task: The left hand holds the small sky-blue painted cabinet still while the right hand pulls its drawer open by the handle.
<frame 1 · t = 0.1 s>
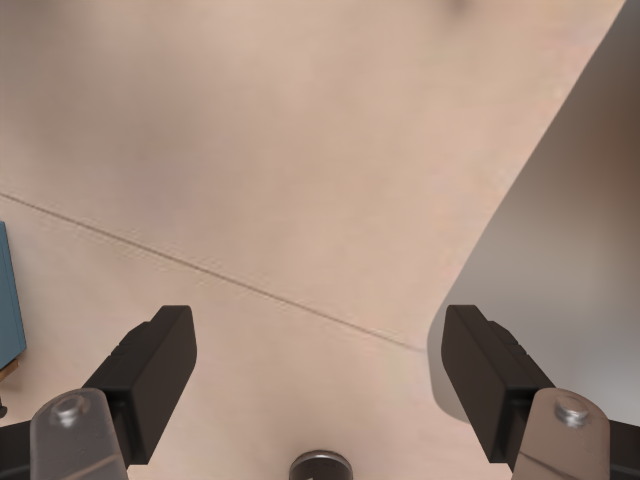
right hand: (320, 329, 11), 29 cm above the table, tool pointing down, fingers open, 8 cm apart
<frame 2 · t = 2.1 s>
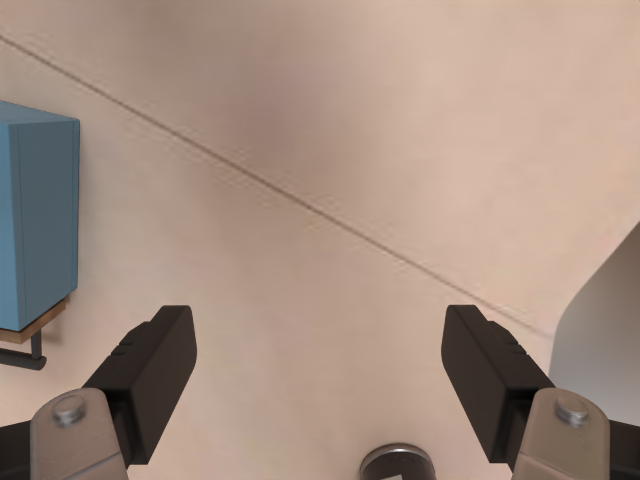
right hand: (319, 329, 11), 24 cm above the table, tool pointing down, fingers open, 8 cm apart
cabinet: (22, 198, 35), on the table
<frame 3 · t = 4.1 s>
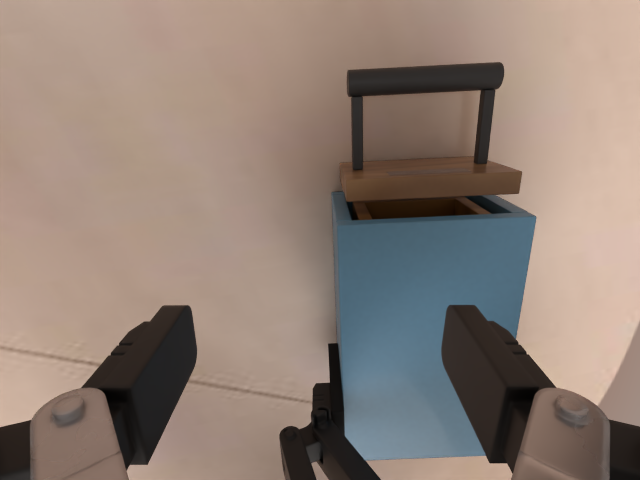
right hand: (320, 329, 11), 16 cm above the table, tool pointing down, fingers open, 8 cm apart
cabinet: (399, 293, 29), on the table, touching left hand
drawer: (415, 247, 24), point 4 cm above the table, slide at 1.0 cm
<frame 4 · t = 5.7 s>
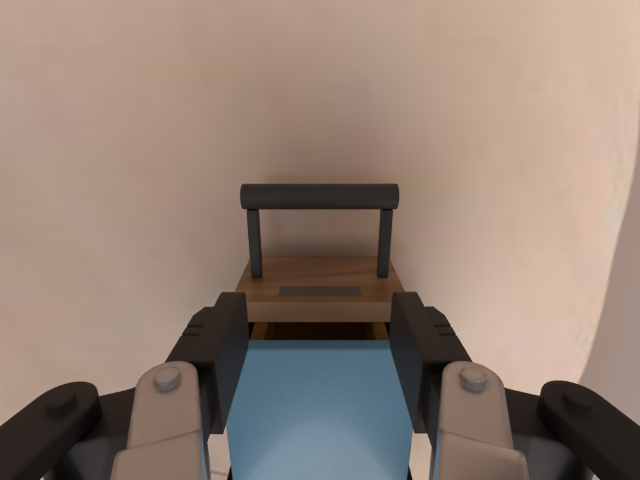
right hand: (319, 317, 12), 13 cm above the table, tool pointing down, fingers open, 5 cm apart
cabinet: (319, 377, 29), on the table, touching left hand
drawer: (319, 350, 23), point 4 cm above the table, slide at 1.0 cm
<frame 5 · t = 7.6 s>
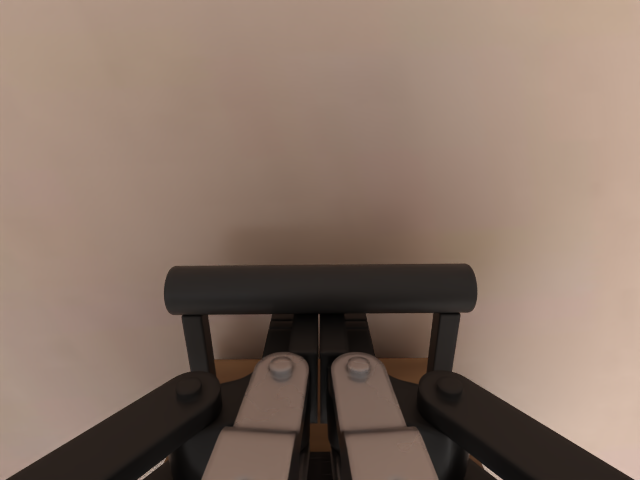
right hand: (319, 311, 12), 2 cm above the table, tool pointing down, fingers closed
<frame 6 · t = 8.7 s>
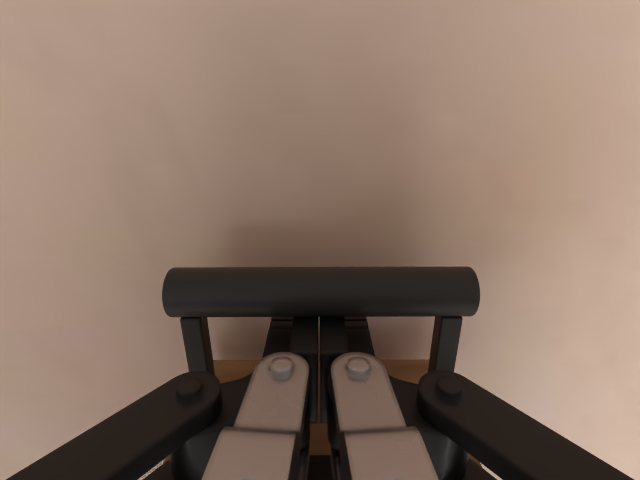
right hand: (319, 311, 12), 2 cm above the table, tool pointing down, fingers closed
when the left hand's fingers open (3 cm above the table, at t = 10.7 s): cabinet stays where it is, on the table.
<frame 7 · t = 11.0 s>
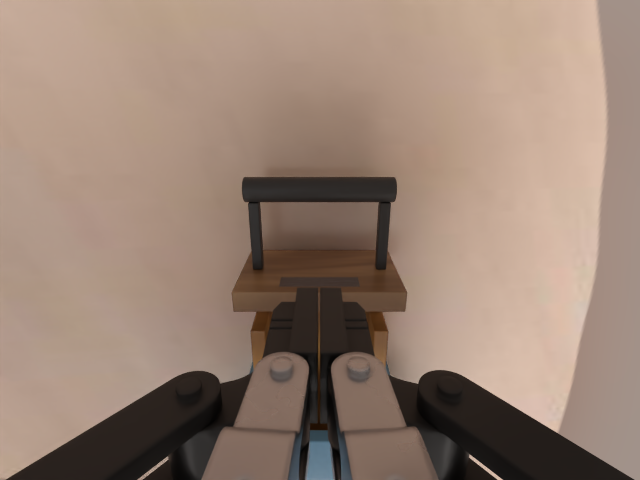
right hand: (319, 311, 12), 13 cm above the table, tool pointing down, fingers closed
cabinet: (319, 437, 32), on the table
drawer: (319, 341, 24), point 4 cm above the table, slide at 8.3 cm
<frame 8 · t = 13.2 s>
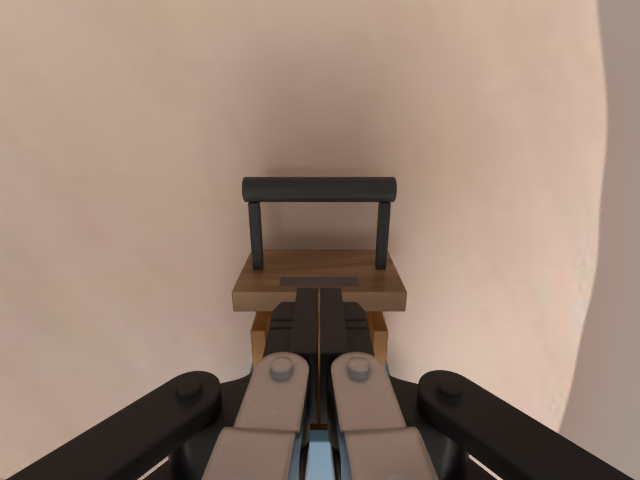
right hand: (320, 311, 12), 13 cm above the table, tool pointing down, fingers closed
cabinet: (319, 437, 32), on the table
drawer: (319, 341, 24), point 4 cm above the table, slide at 8.3 cm
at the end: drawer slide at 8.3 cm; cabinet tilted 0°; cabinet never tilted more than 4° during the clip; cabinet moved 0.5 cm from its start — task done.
